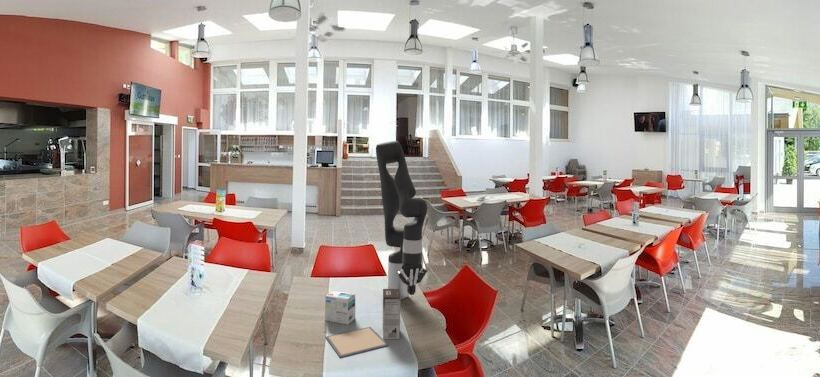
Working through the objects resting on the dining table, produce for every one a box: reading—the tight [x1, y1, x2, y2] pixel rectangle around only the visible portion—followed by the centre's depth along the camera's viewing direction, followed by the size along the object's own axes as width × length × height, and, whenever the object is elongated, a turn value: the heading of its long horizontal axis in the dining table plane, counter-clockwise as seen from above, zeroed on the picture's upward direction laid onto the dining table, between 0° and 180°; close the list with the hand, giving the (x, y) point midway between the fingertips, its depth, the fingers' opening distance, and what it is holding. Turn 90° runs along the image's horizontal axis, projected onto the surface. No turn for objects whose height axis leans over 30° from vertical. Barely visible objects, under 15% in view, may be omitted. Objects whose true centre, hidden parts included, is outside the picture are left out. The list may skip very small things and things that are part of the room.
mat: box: [325, 326, 389, 359], centre depth 142 cm, size 18×16×1 cm
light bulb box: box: [324, 290, 356, 326], centre depth 160 cm, size 11×7×11 cm, turn 71°
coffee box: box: [382, 288, 402, 340], centre depth 148 cm, size 9×6×16 cm
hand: (411, 294), depth 152 cm, fingers closed
